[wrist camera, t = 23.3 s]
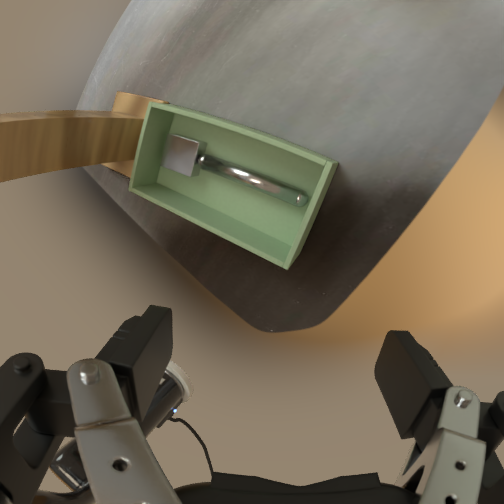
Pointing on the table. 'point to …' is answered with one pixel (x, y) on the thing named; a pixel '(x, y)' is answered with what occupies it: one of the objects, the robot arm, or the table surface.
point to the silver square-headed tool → (224, 169)
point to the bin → (232, 182)
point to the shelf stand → (72, 138)
